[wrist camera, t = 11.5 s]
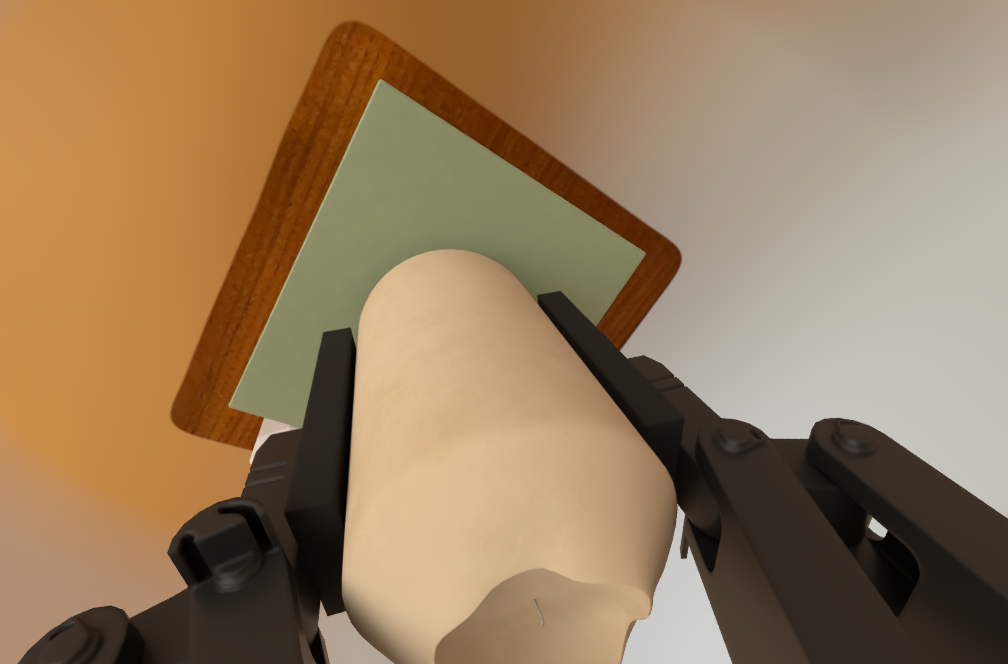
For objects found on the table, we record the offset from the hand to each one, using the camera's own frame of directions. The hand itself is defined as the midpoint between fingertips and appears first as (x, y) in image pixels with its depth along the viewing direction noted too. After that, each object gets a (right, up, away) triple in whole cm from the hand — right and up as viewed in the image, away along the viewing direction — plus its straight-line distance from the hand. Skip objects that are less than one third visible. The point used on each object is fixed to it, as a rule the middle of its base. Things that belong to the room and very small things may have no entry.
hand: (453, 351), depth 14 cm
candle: (0, +1, +1) cm, 1 cm away
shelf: (-8, +14, +27) cm, 32 cm away
